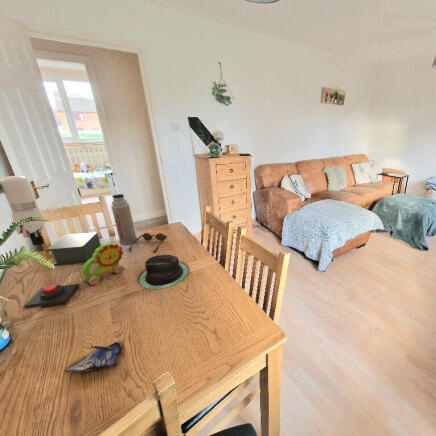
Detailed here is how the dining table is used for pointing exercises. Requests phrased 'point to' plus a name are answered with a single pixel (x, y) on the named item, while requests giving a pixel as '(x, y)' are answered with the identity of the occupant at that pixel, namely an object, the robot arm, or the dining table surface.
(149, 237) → the eyeglasses
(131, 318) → the dining table surface
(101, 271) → the toy lion
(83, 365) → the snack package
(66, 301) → the control block
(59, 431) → the dining table surface
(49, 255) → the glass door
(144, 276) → the black fedora hat
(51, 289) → the red button
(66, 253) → the dark green box
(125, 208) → the thermos bottle
